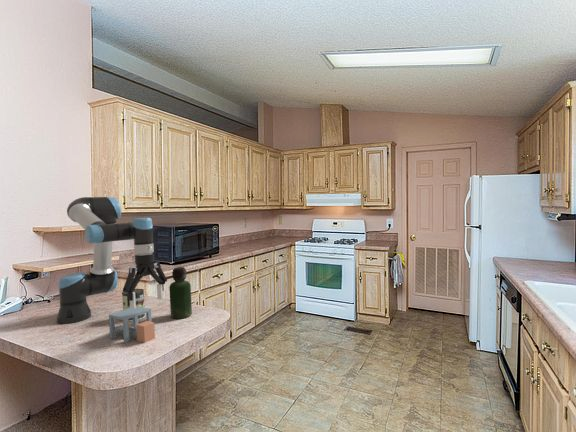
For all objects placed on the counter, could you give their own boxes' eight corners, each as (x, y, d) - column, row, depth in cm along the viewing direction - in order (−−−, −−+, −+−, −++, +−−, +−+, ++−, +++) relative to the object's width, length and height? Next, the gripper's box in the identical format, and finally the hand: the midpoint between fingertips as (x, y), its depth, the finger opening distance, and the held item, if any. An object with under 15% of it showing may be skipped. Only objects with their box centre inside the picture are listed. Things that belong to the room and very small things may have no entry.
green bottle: (169, 320, 162) (166, 270, 162) (172, 313, 173) (170, 267, 172) (191, 318, 165) (188, 269, 164) (192, 311, 175) (190, 265, 174)
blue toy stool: (110, 338, 142) (108, 314, 142) (136, 327, 153) (135, 306, 153) (126, 342, 137) (124, 318, 136) (152, 331, 148) (150, 308, 148)
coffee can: (149, 315, 172) (148, 288, 171) (136, 322, 162) (135, 294, 161) (132, 314, 174) (130, 288, 173) (118, 321, 164) (117, 293, 163)
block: (137, 340, 138) (136, 324, 138) (147, 336, 143) (146, 320, 142) (144, 343, 136) (144, 326, 136) (154, 338, 140) (154, 322, 140)
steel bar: (113, 334, 148) (113, 327, 148) (120, 331, 151) (120, 324, 151) (138, 341, 139) (138, 334, 139) (145, 337, 142) (145, 331, 142)
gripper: (123, 258, 126) (126, 313, 126) (173, 250, 147) (176, 296, 148) (111, 258, 129) (114, 311, 130) (162, 249, 151) (164, 294, 152)
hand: (147, 303), depth 139 cm, fingers open, 13 cm apart
